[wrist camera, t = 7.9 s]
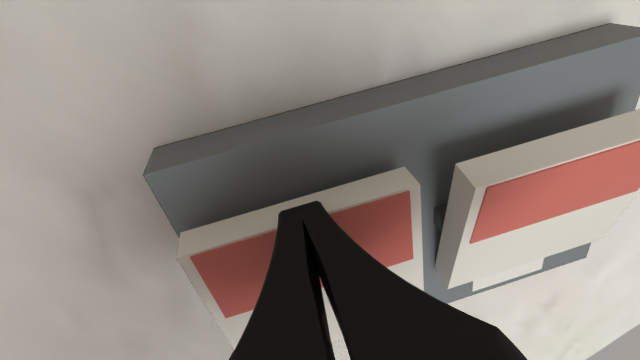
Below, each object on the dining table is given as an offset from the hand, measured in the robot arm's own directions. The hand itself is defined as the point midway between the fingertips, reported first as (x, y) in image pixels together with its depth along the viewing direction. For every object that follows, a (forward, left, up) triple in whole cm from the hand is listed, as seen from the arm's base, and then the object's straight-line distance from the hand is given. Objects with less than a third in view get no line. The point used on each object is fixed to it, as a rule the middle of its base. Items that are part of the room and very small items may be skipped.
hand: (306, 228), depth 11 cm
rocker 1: (-3, 0, 0) cm, 3 cm away
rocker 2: (-3, -9, 0) cm, 10 cm away
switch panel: (-3, -5, -4) cm, 7 cm away
